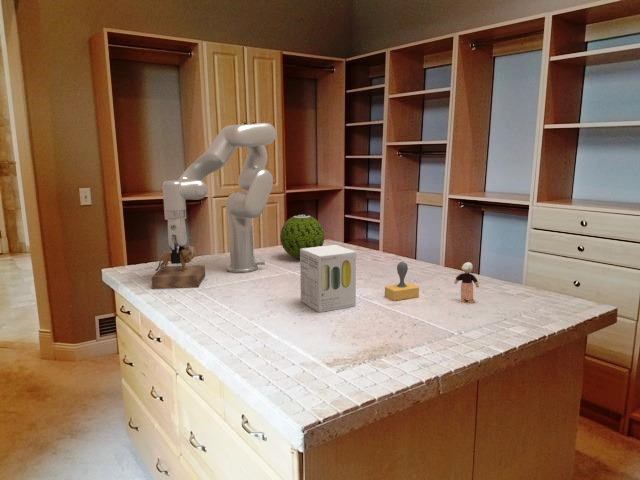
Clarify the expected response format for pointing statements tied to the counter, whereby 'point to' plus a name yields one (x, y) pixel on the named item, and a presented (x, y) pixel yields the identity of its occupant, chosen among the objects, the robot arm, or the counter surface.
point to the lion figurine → (184, 258)
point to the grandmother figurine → (467, 283)
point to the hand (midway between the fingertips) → (178, 260)
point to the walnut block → (178, 277)
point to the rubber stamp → (401, 286)
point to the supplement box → (328, 277)
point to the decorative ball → (301, 234)
